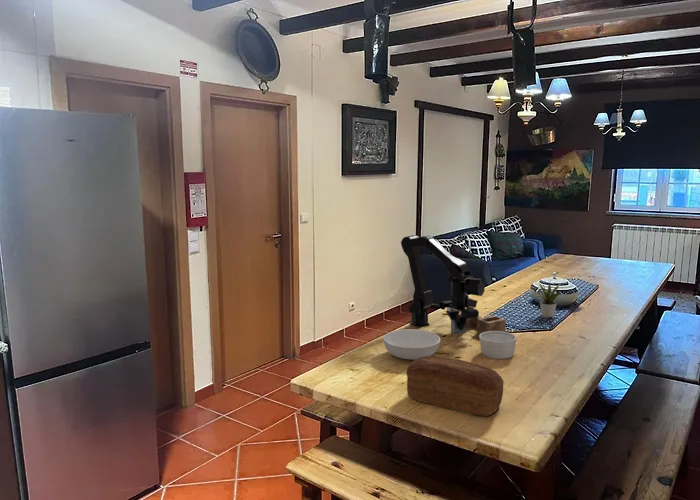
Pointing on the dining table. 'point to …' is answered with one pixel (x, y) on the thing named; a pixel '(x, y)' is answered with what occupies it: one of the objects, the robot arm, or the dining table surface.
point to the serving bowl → (411, 343)
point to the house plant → (548, 301)
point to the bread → (455, 384)
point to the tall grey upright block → (456, 327)
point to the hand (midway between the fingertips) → (458, 329)
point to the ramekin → (497, 344)
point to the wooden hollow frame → (486, 323)
